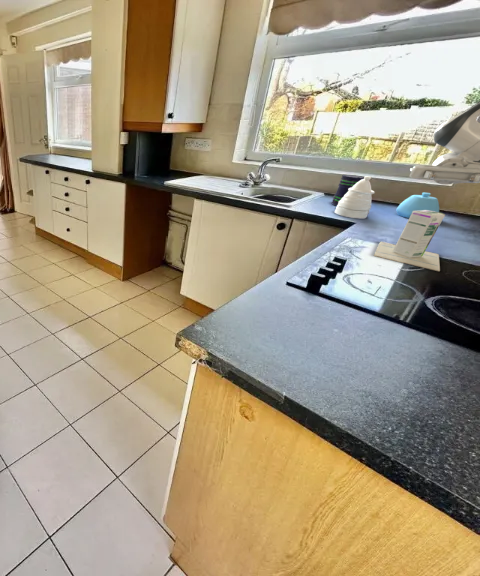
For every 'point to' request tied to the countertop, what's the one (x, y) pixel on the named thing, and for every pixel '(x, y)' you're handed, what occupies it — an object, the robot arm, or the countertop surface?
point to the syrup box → (418, 233)
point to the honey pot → (356, 200)
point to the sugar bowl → (418, 204)
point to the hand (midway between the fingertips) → (452, 178)
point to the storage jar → (345, 186)
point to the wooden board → (425, 261)
